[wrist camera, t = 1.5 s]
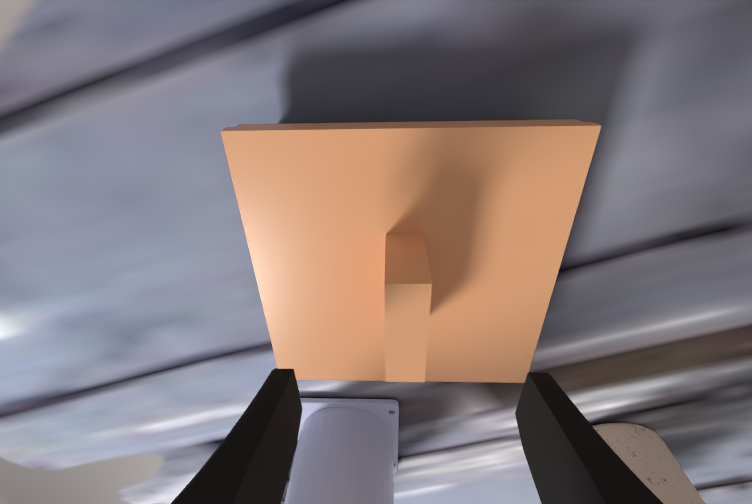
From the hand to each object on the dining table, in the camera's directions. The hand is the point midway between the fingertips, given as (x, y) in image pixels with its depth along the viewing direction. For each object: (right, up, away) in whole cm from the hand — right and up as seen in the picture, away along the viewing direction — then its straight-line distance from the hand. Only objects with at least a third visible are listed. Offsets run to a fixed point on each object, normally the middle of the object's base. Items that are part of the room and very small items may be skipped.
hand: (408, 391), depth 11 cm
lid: (0, +3, +6) cm, 7 cm away
